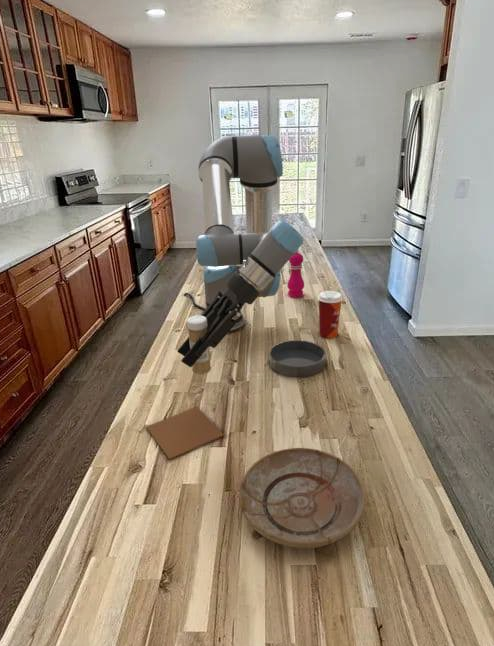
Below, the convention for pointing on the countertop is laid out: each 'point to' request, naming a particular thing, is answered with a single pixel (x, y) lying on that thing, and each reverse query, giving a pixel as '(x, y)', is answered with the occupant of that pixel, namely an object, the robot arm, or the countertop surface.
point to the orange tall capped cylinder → (329, 313)
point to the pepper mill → (295, 276)
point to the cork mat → (184, 432)
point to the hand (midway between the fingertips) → (184, 358)
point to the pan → (297, 358)
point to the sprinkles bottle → (196, 330)
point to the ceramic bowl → (302, 497)
